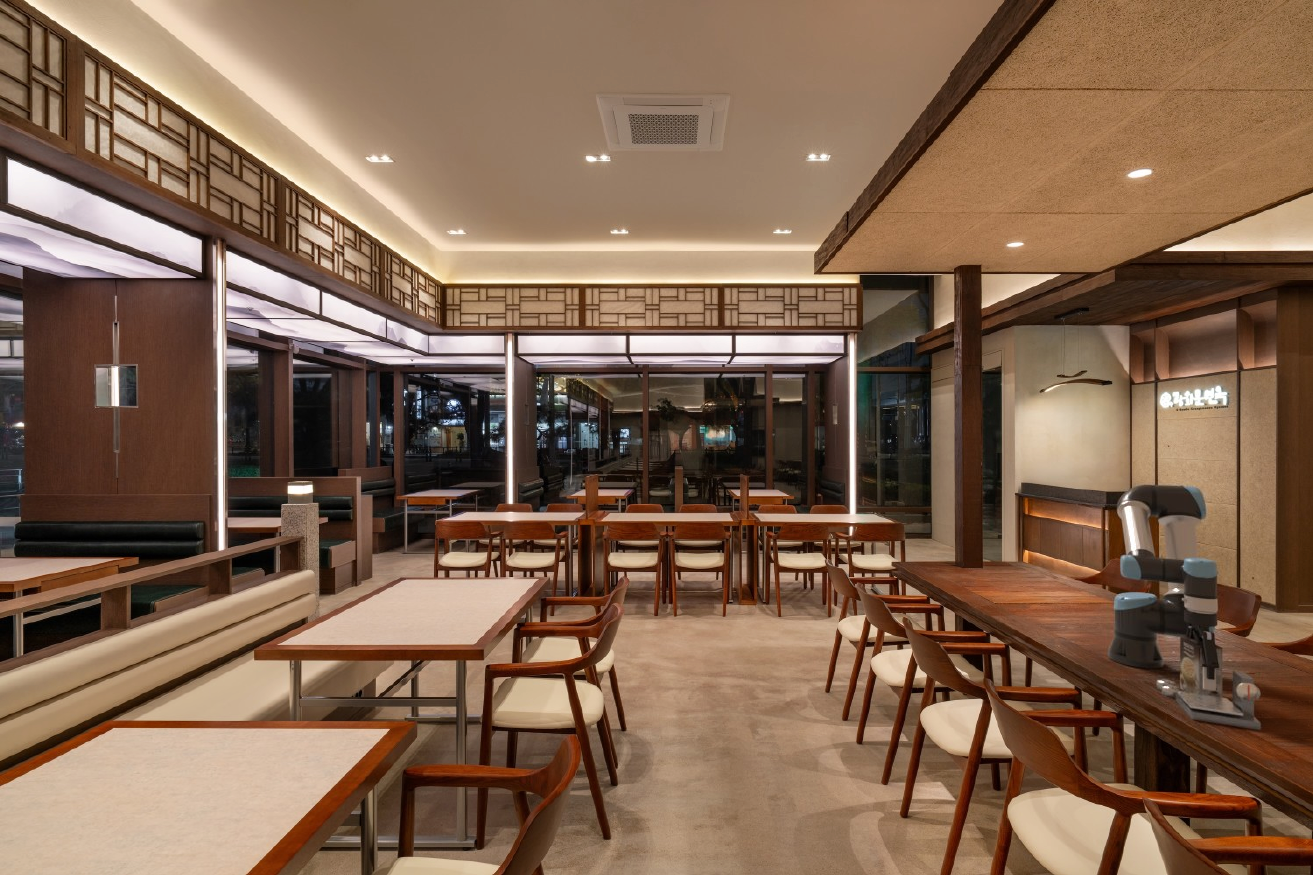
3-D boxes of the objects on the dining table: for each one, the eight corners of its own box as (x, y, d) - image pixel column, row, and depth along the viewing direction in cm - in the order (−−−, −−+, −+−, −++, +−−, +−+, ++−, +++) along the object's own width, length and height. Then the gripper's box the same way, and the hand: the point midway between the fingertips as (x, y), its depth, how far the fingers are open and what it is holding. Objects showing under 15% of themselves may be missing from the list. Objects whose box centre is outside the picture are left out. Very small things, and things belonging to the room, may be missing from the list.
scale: (1175, 699, 179) (1175, 659, 179) (1243, 710, 172) (1243, 667, 172) (1192, 719, 166) (1192, 675, 166) (1266, 731, 159) (1266, 685, 159)
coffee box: (1178, 688, 187) (1178, 636, 188) (1202, 690, 186) (1202, 637, 186) (1198, 700, 178) (1198, 645, 179) (1224, 702, 177) (1223, 647, 177)
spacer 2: (1159, 691, 185) (1159, 683, 185) (1178, 694, 183) (1178, 685, 183) (1164, 696, 181) (1164, 688, 181) (1183, 699, 179) (1183, 691, 179)
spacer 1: (1154, 685, 190) (1154, 677, 190) (1172, 688, 188) (1172, 680, 188) (1159, 690, 186) (1159, 682, 186) (1177, 693, 184) (1177, 685, 184)
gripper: (1171, 599, 195) (1171, 666, 195) (1199, 619, 173) (1199, 694, 173) (1201, 602, 192) (1201, 670, 192) (1234, 622, 170) (1234, 699, 169)
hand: (1200, 681), depth 182 cm, fingers open, 13 cm apart
